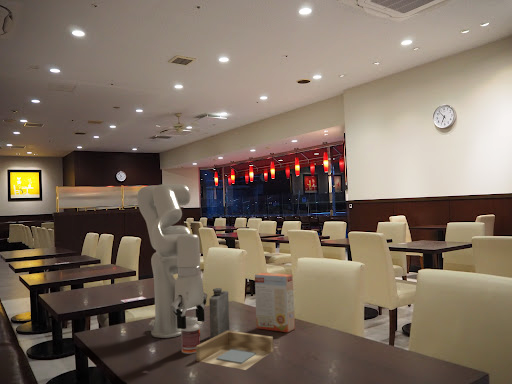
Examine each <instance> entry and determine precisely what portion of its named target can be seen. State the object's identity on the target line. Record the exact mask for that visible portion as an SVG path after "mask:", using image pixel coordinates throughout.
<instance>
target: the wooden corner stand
mask: <svg viewBox="0 0 512 384" xmlns="http://www.w3.org/2000/svg"><path fill="white" fill-rule="evenodd" d="M231 349H236V350H242V351H248V352H254V353H256V355H254V356H253V357H251V358H250V359H248V360H247V361H245V362H244V363H242V364H239V363H234V362H228V361H223V360H217V359H216V358H217V357H219V356H221V355H222V354H224V353H226V352H228V351H229V350H231ZM273 352H274V337H273V336H269V335H263V334H256V333H248V332H242V331H241V332H240V331H234V330H229V331H228V330H227V331H225V332H223V333H221V334H219V335H217V336H215V337H213V338H211V337H210V338H209V339H207V340H206V341H203V342H200V344H199V345H197V346H196V353H195V358H196V359H195V360H196V362H199V363H206V364H211V365H216V366H222V367H227V368H232V369H237V370H242V371H243V370H244V371H247V370H248V369H250V368H251V367H252V366H254V365H255V364H257V363H258V362H260V361H261V360H262V359H263V358H265V357H267V356H268V355H270V354H271V353H273Z"/></svg>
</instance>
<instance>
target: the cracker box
mask: <svg viewBox="0 0 512 384" xmlns="http://www.w3.org/2000/svg"><path fill="white" fill-rule="evenodd" d="M254 284H255V285H254V287H255V289H254V290H255V295H254V296H255V321H256V322H255V323H256V324H255V325H256V329H260V330H266V331H274V332H275V331H276V332H282V333H290V332H292V331H293V330H295V329H296V326H295V325H296V324H295V323H296V322H295V320H296V319H295V300H294V298H295V297H294V276H293V274H292V273H290V274H289V273H274V272H260V273H257V274H255V275H254Z"/></svg>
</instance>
